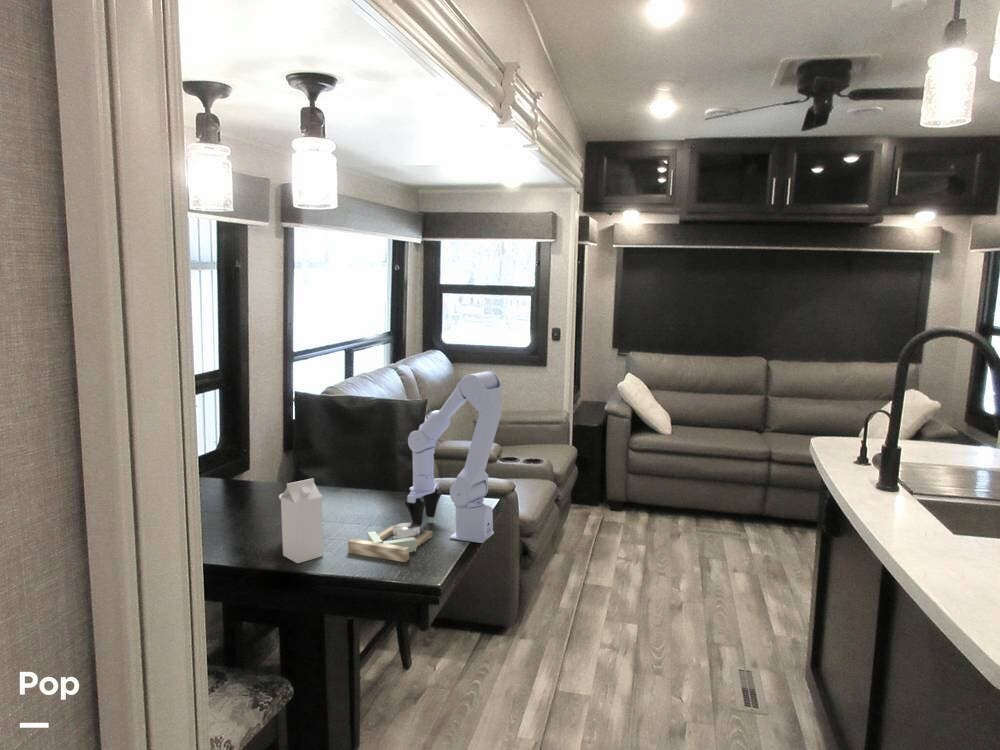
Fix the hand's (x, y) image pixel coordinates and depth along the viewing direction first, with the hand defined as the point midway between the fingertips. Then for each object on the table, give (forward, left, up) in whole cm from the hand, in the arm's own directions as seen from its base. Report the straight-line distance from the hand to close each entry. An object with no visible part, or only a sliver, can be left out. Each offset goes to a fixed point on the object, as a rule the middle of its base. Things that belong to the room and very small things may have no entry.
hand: (424, 520), depth 195 cm
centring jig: (0, +17, -1) cm, 17 cm away
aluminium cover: (0, +10, -2) cm, 10 cm away
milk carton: (+17, +31, -2) cm, 35 cm away
